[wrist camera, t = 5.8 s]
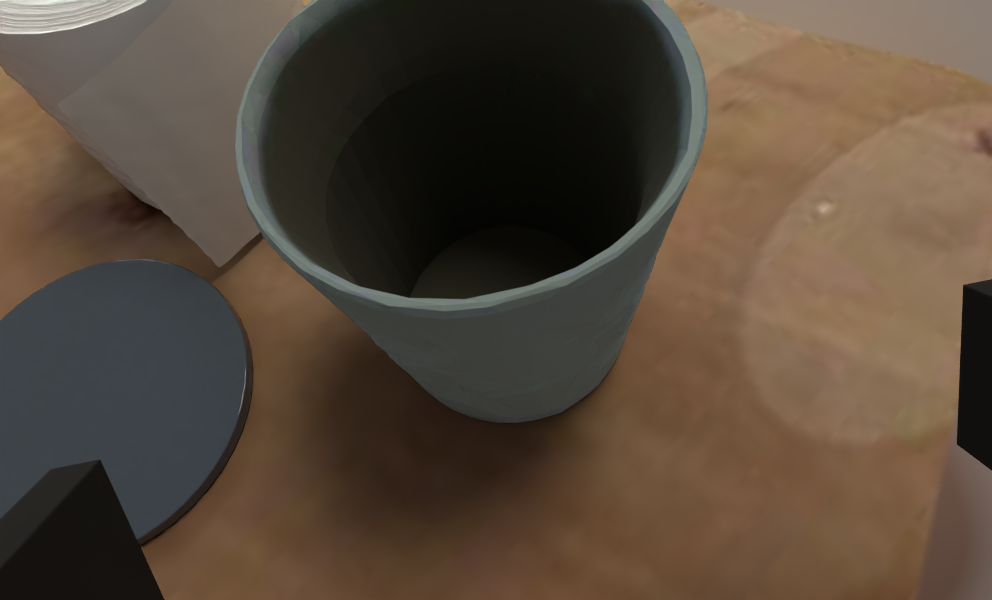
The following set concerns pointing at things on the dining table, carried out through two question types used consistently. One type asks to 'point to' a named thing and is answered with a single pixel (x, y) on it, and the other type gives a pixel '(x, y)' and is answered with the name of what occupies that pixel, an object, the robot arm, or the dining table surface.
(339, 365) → the dining table surface
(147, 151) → the toilet tissue
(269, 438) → the dining table surface
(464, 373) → the embossed green cup
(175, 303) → the coaster
